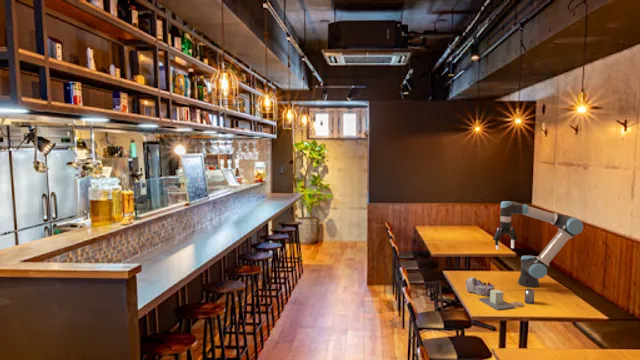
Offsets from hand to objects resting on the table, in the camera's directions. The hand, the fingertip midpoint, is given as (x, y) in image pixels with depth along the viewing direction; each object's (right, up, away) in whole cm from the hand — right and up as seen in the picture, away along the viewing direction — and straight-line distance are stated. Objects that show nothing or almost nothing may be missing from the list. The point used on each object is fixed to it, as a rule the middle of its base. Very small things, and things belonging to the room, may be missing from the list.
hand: (504, 248), depth 319 cm
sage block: (-19, -33, -28) cm, 47 cm away
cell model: (-21, -33, -5) cm, 39 cm away
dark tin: (+6, -34, -26) cm, 43 cm away
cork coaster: (-5, -34, -30) cm, 46 cm away
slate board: (-19, -34, -28) cm, 48 cm away
